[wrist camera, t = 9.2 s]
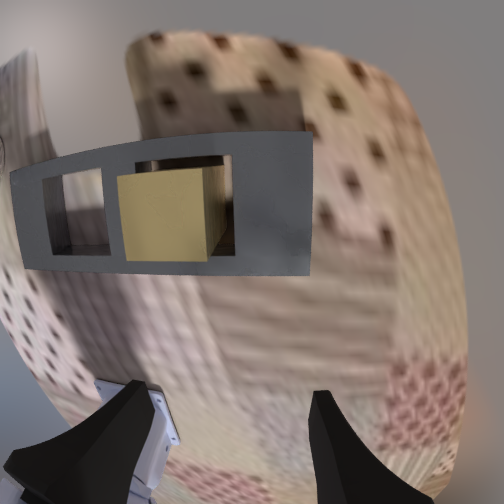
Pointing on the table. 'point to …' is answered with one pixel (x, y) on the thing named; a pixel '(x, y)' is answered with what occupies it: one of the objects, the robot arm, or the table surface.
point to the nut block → (172, 213)
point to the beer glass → (1, 158)
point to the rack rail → (139, 160)
